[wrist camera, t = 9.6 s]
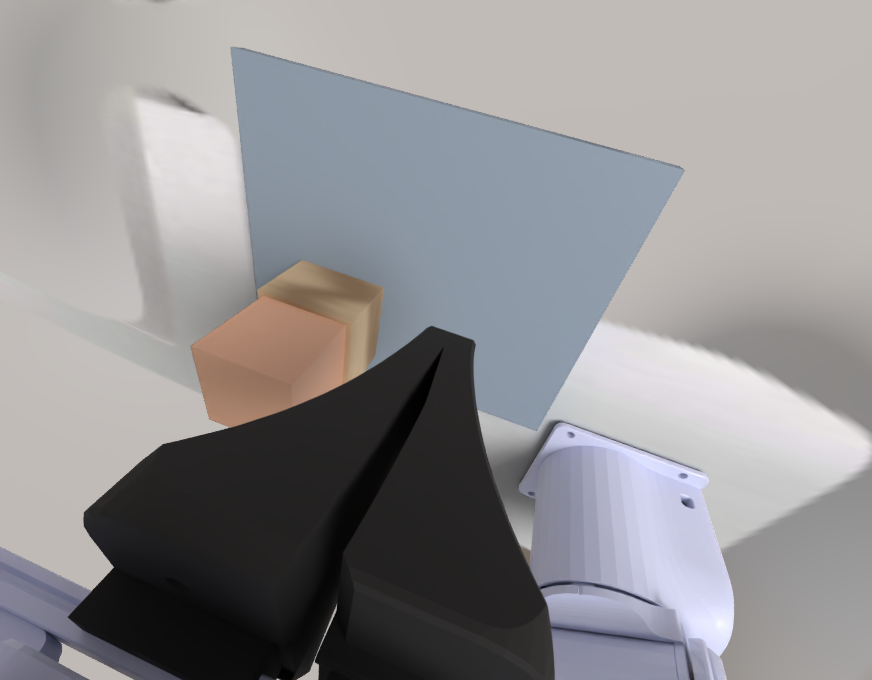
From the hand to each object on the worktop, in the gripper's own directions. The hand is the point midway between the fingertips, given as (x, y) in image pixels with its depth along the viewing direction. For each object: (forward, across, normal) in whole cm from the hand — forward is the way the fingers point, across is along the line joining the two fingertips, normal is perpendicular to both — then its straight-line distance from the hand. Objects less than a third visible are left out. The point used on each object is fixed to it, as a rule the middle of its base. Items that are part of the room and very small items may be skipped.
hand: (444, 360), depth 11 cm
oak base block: (+10, +8, +7) cm, 14 cm away
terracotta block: (+6, +8, +7) cm, 12 cm away
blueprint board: (+10, +4, +3) cm, 12 cm away
